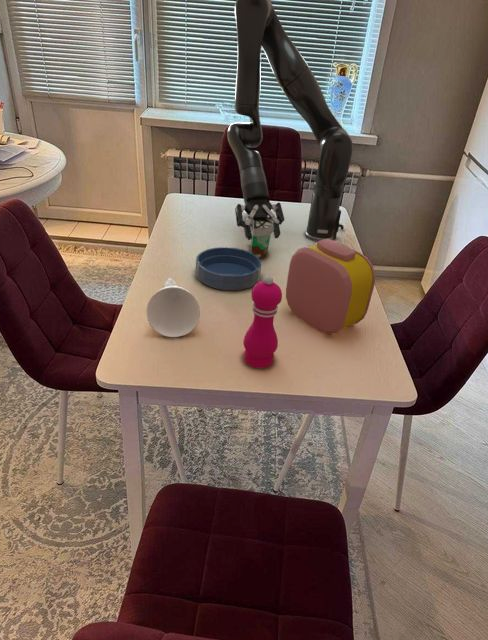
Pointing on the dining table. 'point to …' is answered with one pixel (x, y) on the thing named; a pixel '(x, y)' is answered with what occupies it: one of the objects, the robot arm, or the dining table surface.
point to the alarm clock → (329, 285)
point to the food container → (261, 237)
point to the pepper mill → (262, 324)
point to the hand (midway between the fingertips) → (263, 238)
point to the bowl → (228, 268)
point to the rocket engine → (173, 310)
